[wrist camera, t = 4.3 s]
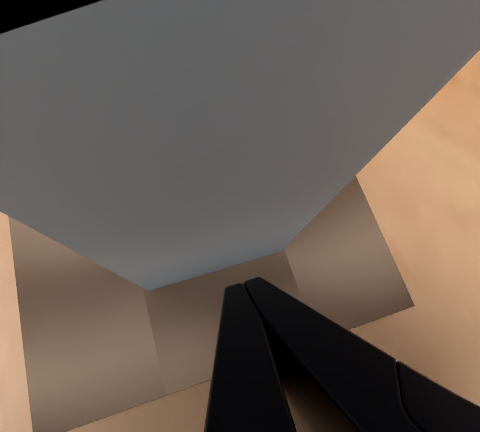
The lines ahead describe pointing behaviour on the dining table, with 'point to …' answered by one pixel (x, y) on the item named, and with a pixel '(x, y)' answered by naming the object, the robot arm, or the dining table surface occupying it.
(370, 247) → the board
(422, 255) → the dining table surface
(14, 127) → the blue block
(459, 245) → the dining table surface
